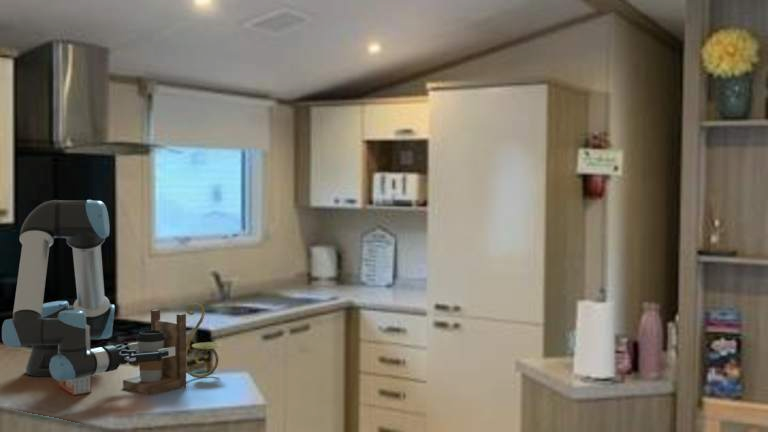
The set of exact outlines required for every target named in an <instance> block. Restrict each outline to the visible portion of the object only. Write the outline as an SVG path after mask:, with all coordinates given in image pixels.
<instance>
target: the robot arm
mask: <svg viewBox="0 0 768 432" xmlns="http://www.w3.org/2000/svg"><path fill="white" fill-rule="evenodd" d="M110 228H111V227H110V219H109V212H108V209H107V206H106V204H105V203H104V202H103V201H101V200H92V199H87V200H58V199H54V200H48V201H45V202H43V203H40V204H39V205H38V206H37V207H35V208H34V209H33V210H32V211H31V212H30V213H29V214H28V216H26V218H25V219H24V222H23V224H22V226H21V229H20V233H19V242H20V244H21V252H20V259H19V267H18V274H17V281H16V282H17V284H16V287H15V288H16V289H15V297H14V304H13V311H12V318H9V319H5V320H4V321H3V323H2V326H1V339H2V342H3V344H4V345H5V347H24V346H26V347H27V346H31V350H30V354H29V357H28V360H27V363H26V365H25V374H26V375H28V376H32V377H52V378H53V379H54V381H55V380H56V381H57V382H59V381H65V380H73V379H76V378H81V377H85V376H89V375H91V377H96V375H98V374H103V373H107V372H112V371H116V370H117V369H118V368H119V367H120V365H121V364H127V363H128V364H130V365H132V364H133V365H134V364H137V363H138V364H139V363H141V362H151V361H158V362H160V361H162V358H165V357H170V356H175V347H174V346H173V347H169V348H164V349H159V350H157V351H142V352H138V342H133V343H129V342H127V341H125V342H123V344H122V343H118V344H117V345H113V344H109V345H105V346H100V347H99V346H98V347H93V348H90V349H88V350H87V325H89V326H90V341H91V340H99V341H100V340H102V339H103V340H105V339H110V337H112V335H113V326H114V320H115V319H114V318H115V309H116V306H115V304H112V303H111V302H110V299H109V298H108V297H107V296H105V286H104V285H105V283H104V271H103V260H102V259H103V257H102V245H103V243H104V242H105V240H106V238H107V237H109V236H110ZM57 238H58V239H59V238H60V239H66V244H67V245H68V246H69V247H71V249H72V257H73V259H72V260H73V268H74V278H75V279H74V280H75V288H76V297H77V298H76V299H75V301H74V303H73V305H70V304H69V302H68V300H56V301H50V302H46V303H45V302H44V299H45V288H46V278H47V270H48V262H49V253H50V247H51V246H53V244H54V240H55V239H57ZM128 343H129V344H128ZM58 345H59V354H58Z"/></svg>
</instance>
